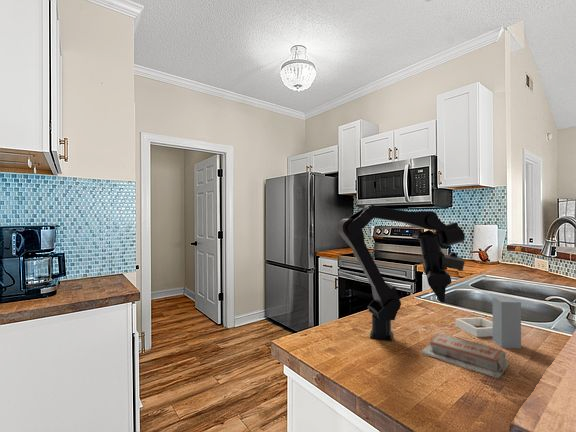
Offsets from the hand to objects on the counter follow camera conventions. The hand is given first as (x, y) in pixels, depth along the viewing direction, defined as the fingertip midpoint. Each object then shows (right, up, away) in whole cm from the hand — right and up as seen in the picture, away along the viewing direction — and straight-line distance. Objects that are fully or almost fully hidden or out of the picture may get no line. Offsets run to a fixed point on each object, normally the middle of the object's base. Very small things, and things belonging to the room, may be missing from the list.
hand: (440, 297), depth 98 cm
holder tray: (+13, -11, +2) cm, 18 cm away
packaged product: (-3, -12, -18) cm, 22 cm away
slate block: (+15, -11, -9) cm, 21 cm away
